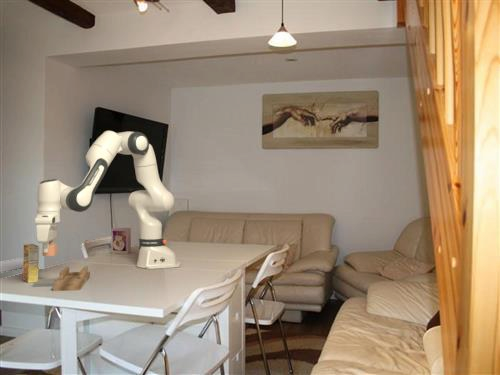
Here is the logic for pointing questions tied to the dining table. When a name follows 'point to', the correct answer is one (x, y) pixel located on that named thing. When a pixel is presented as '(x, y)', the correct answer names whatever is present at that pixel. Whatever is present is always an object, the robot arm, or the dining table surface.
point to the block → (51, 250)
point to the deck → (71, 279)
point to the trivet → (45, 282)
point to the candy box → (30, 263)
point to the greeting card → (121, 240)
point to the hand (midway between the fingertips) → (48, 251)
